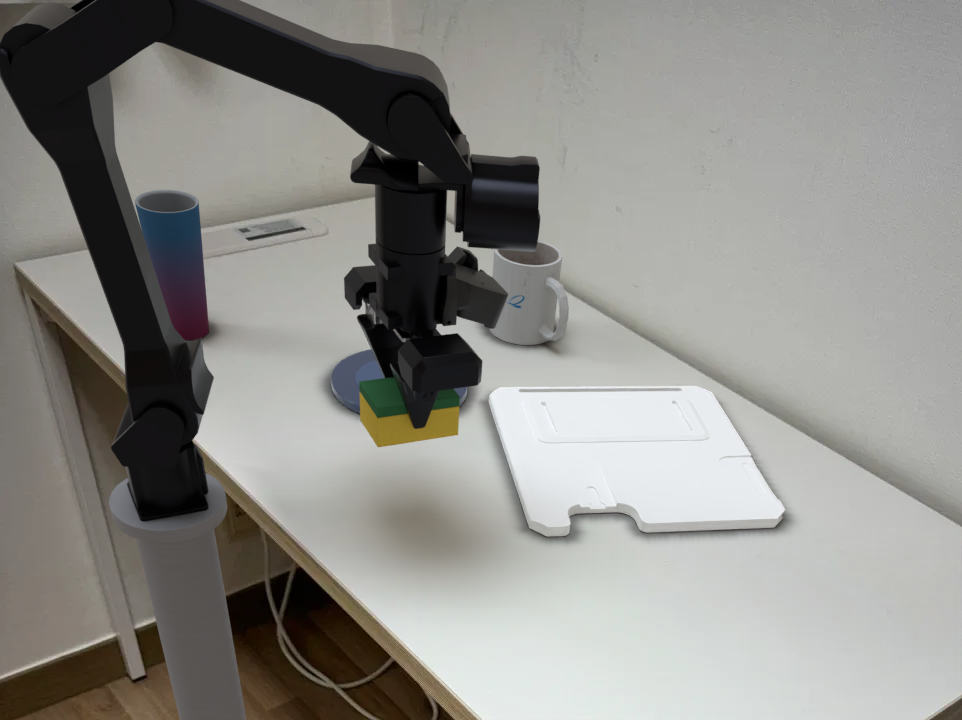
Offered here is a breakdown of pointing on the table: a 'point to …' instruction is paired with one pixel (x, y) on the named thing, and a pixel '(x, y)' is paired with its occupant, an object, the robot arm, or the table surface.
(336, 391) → the plate
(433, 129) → the robot arm
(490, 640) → the table surface
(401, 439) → the sponge
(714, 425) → the tray
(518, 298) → the mug
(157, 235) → the cup
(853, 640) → the table surface
